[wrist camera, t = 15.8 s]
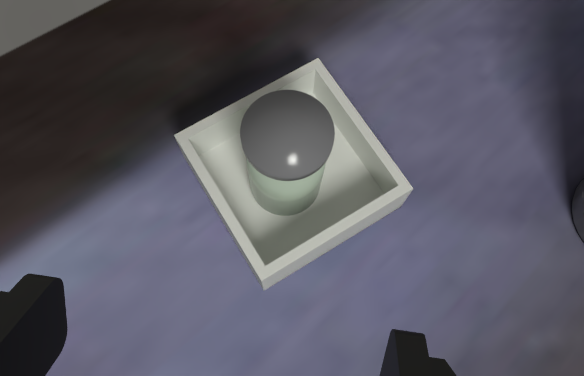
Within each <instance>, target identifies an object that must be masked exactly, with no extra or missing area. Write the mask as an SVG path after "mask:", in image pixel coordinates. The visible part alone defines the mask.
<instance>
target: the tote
mask: <svg viewBox="0 0 584 376" xmlns="http://www.w3.org/2000/svg"><path fill="white" fill-rule="evenodd" d="M278 90H296V91H301V92H304V93H307V94H309V95H311V96H313V97H314V98H316V99H317V100H318V101H320V102H321V103H322V104H323V105H324V106H325V107H326V109H327V110H328V112H329V113H330V115H331V117H332V120H333V123H334V129H335V138H334V143H333V147H332V151H331V154H330V156H329V158H328V160H327V161H326V164H325V169H324V173H323V177H322V181H321V186H320V190H319V193H318V196H317V198H316V200H315V201H314V202H313V204H312V205H311V206H310V207H309V208H307V209H306V210H304V211H303V212H301V213H298V214H295V215H290V216H281V215H275V214H272V213H270V212H268V211H266V210H265V209H263V208H262V207H261V206H260V205H259V204H258V203H257V202H256V201H255V199H254V197H253V195H252V193H251V189H250V182H249V175H248V168H247V160H246V157H245V155H244V152H243V149H242V145H241V138H240V127H241V122H242V119H243V116H244V114H245V112H246V111H247V109H248V108H249V107H250V105H251V104H252V103H253V102H255V101H256V100H257V99H258V98H260V97H261V96H263V95H265V94H268V93H270V92H273V91H278ZM174 136H175V138H176V140H177V143H178V145H179V147H180V149H181V151H182V153H183V156H184V158H185V159H186V161H187V163H188V164H189V166H190V168H191V169H192V171H193V173H194V174H195V176H196V178H197V180H198V181H199V183H200V185H201V186H202V188H203V190H204V191H205V193H206V195H207V196H208V198H209V200H210V201H211V203H212V205H213V206H214V208H215V210H216V211H217V213H218V215H219V216H220V218H221V220H222V221H223V223H224V225H225V226H226V228H227V230H228V231H229V233H230V235H231V237H232V238H233V240H234V242H235V243H236V245H237V247H238V248H239V250H240V252H241V253H242V255H243V257H244V258H245V260H246V262H247V263H248V265H249V267H250V268H251V270H252V272H253V273H254V275H255V277H256V278H257V280H258V282H259V283H260V285H261V287H262V288H263V290H266V289H268V288H269V287H271V286H273V285H274V284H276V283H277V282H279V281H281V280H282V279H284V278H286V277H287V276H289V275H291V274H292V273H294V272H295V271H297V270H299V269H300V268H302V267H304V266H305V265H307V264H308V263H310V262H312V261H313V260H315V259H317V258H318V257H320V256H321V255H323V254H325V253H326V252H328V251H330V250H331V249H333V248H334V247H336V246H338V245H339V244H341V243H343V242H344V241H346V240H348V239H349V238H351V237H352V236H354V235H356V234H357V233H359V232H361V231H362V230H364V229H365V228H367V227H369V226H370V225H372V224H374V223H375V222H377V221H378V220H380V219H382V218H383V217H385V216H387V215H388V214H390V213H391V212H393V211H395V210H396V209H398V208H400V207H401V206H402V204H403V203H404V201H405V200H406V198H407V197H408V195H409V194H410V193H411V191H412V190H413V187H412V186H411V185H410V183H409V182H408V181H407V179H406V178H405V176H404V175H403V174H402V172H401V171H400V170H399V168H398V167H397V165H396V164H395V163H394V161H393V160H392V159H391V157H390V156H389V154H388V153H387V152H386V150H385V149H384V148H383V146H382V145H381V143H380V142H379V141H378V139H377V138H376V137H375V135H374V134H373V132H372V131H371V130H370V128H369V127H368V126H367V124H366V123H365V121H364V120H363V119H362V117H361V116H360V115H359V113H358V112H357V110H356V109H355V108H354V106H353V105H352V104H351V102H350V101H349V99H348V98H347V97H346V95H345V94H344V93H343V91H342V90H341V88H340V87H339V86H338V84H337V83H336V82H335V80H334V79H333V77H332V76H331V75H330V73H329V72H328V71H327V69H326V68H325V66H324V65H323V64H322V62H321V61H320V60H319V58H317V59H315V60H313V61H311V62H310V63H308V64H306V65H304V66H302V67H300V68H298V69H296V70H295V71H293V72H291V73H289V74H287V75H285V76H283V77H281V78H280V79H278V80H276V81H274V82H272V83H270V84H268V85H267V86H265V87H263V88H261V89H259V90H257V91H255V92H253V93H252V94H250V95H248V96H246V97H244V98H242V99H240V100H238V101H237V102H235V103H233V104H231V105H229V106H227V107H225V108H224V109H222V110H220V111H218V112H216V113H214V114H212V115H210V116H209V117H207V118H205V119H203V120H201V121H199V122H197V123H196V124H194V125H192V126H190V127H188V128H186V129H184V130H182V131H181V132H179V133H177V134H175V135H174Z"/></svg>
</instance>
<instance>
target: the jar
mask: <svg viewBox="0 0 584 376" xmlns="http://www.w3.org/2000/svg"><path fill="white" fill-rule="evenodd" d="M240 138H241V145H242V149H243V152H244V155H245V157H246V160H247V168H248V175H249V182H250V189H251V193H252V195H253V197H254V199H255V201H256V202H257V203H258V204H259V205H260V206H261V207H262V208H263V209H265V210H266V211H268V212H270V213H272V214H275V215H281V216H290V215H295V214H298V213H301V212H303V211H304V210H306V209H307V208H309V207H310V206H311V205H312V204H313V202H314V201H315V200H316V198H317V196H318V193H319V190H320V186H321V181H322V177H323V173H324V169H325V164H326V161H327V160H328V158H329V156H330V154H331V151H332V147H333V143H334V138H335V129H334V123H333V120H332V117H331V115H330V113H329V112H328V110H327V109H326V107H325V106H324V105H323V104H322V103H321V102H320V101H318V100H317V99H316V98H314V97H313V96H311V95H309V94H307V93H304V92H301V91H296V90H278V91H273V92H270V93H268V94H265V95H263V96H261V97H260V98H258V99H257V100H256V101H255V102H253V103H252V104H251V105H250V107H249V108H248V109H247V111H246V112H245V114H244V116H243V119H242V122H241V127H240Z"/></svg>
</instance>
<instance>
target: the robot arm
mask: <svg viewBox="0 0 584 376" xmlns="http://www.w3.org/2000/svg"><path fill="white" fill-rule="evenodd" d="M572 215H573V221H574V224H575V226H576V229H577V231H578V234H579V235H580V237H581V238H582V240H583V241H584V179H583V180H582V181H581V182H580V183H579V185H578V187H577V188H576V190H575V193H574V196H573V200H572ZM66 336H67V318H66V307H65V296H64V286H63V282H62V280H61V279H60V278H56V277H49V276H42V275H35V274H27V275H25V276H24V277H23V278H22V279H21V280H20V281H19V282H18V283H17V284H16V285H15V286H14V287H13V288H12V289H11V291H10V292H3V291H0V376H45V375H46V374H47V372H48V371H49V369H50V368H51V366H52V365H53V363H54V362H55V360H56V359H57V358H58V356H59V355H60V353H61V351H62V349H63V347H64V344H65V340H66ZM380 376H456V374H455V373H454V372H453V370H452V369H451V367H450V366H449V365H448V363H447V362H446V361H445V359H439V358H432V357H429V355H428V349H427V344H426V339H425V335H424V334H423V333H416V332H409V331H403V330H396V329H392V330H391V333H390V336H389V340H388V344H387V348H386V352H385V356H384V360H383V364H382V368H381V372H380Z"/></svg>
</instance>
